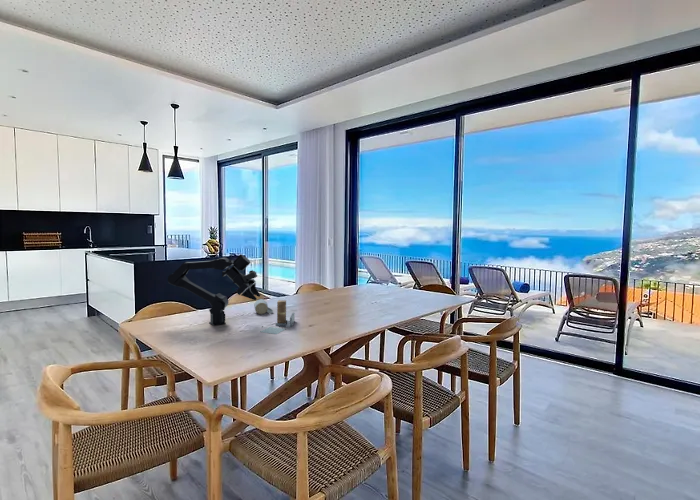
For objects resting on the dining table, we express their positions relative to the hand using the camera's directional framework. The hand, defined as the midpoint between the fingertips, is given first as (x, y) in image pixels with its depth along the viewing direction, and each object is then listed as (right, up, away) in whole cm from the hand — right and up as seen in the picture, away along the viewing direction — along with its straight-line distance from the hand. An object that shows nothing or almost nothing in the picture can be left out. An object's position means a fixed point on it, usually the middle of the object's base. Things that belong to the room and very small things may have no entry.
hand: (258, 297), depth 193 cm
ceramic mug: (-3, -12, +25) cm, 28 cm away
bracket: (+14, -14, +1) cm, 20 cm away
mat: (+10, -15, -12) cm, 21 cm away
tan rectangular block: (+12, -14, +1) cm, 18 cm away
